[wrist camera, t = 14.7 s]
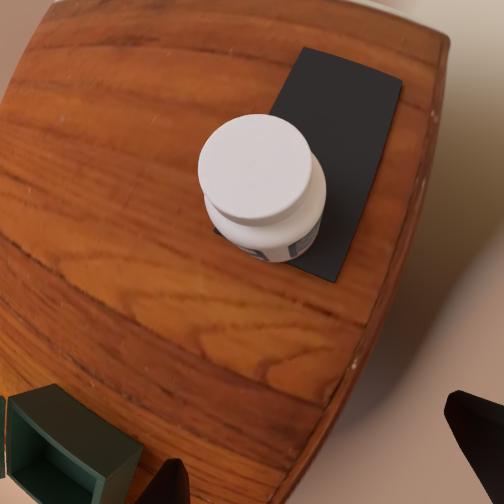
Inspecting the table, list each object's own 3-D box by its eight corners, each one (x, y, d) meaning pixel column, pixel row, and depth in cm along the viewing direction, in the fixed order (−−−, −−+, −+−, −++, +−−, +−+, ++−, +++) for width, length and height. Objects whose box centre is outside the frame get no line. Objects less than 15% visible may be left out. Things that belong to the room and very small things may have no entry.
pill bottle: (310, 172, 19) (316, 89, 10) (325, 255, 18) (349, 224, 10) (227, 186, 20) (178, 115, 11) (237, 268, 19) (186, 249, 10)
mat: (333, 283, 19) (334, 283, 18) (215, 232, 20) (212, 231, 20) (400, 84, 20) (402, 80, 19) (303, 51, 21) (303, 46, 21)
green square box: (144, 445, 19) (105, 478, 14) (121, 511, 18) (90, 543, 13) (54, 382, 21) (7, 396, 15) (43, 455, 20) (6, 474, 15)
